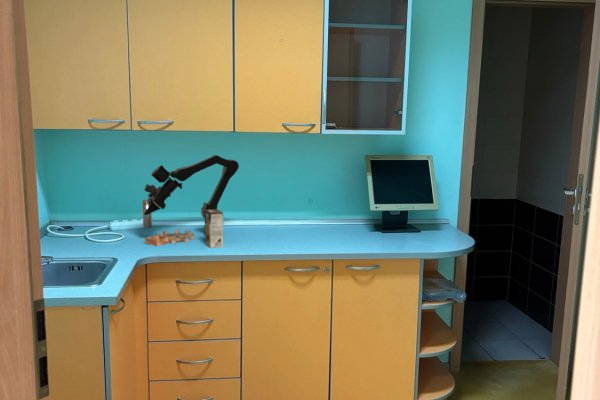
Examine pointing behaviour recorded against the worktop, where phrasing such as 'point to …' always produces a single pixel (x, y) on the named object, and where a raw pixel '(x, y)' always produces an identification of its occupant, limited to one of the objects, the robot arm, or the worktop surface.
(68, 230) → the worktop surface
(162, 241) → the sprocket
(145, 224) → the pin
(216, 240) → the coffee box
